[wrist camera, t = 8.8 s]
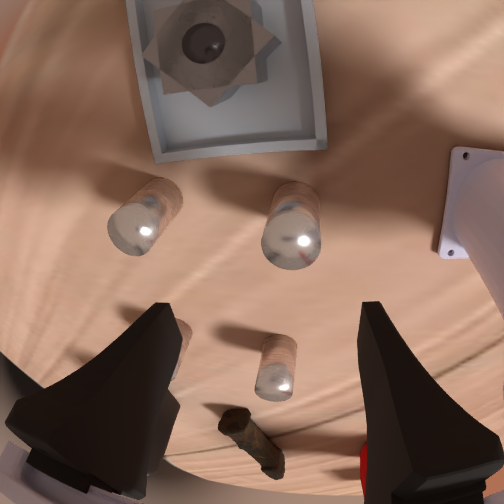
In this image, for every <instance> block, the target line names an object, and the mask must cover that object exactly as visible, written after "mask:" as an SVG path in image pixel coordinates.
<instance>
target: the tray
mask: <svg viewBox="0 0 504 504" xmlns="http://www.w3.org/2000/svg"><path fill="white" fill-rule="evenodd" d="M125 2H126V9H127V17H128V24H129V31H130V38H131V44H132V50H133V56H134V62H135V68H136V74H137V79H138V85H139V90H140V95H141V100H142V105H143V110H144V115H145V120H146V125H147V130H148V134H149V139H150V143H151V148H152V152H153V157H154V161H155V164H161V163H168V162H176V161H183V160H191V159H200V158H209V157H218V156H229V155H240V154H252V153H266V152H282V151H302V150H328V143H327V127H326V113H325V100H324V89H323V78H322V68H321V59H320V50H319V42H318V34H317V26H316V19H315V12H314V5H313V0H256V2H257V3H258V4H259V5H260V6H261V7H262V15H263V26H264V28H265V29H267V30H268V31H269V32H271V33H272V34H273V35H275V36H276V37H277V38H278V39H279V40H280V41H281V42H282V43H281V44H280V45H279V46H278V47H277V48H276V49H275V50H274V51H273V52H272V53H271V54H270V55H269V56H268V57H267V58H266V60H267V73H268V81H265V82H262V83H259V84H251V85H242V86H241V87H240V88H239V89H238V90H237V91H236V93H235V94H234V95H233V96H232V97H231V98H230V99H228V100H226V101H224V102H221V103H219V104H217V105H215V106H213V107H209V106H207V105H206V104H205V103H204V102H202V101H201V100H200V99H199V98H197V97H196V96H195V95H193V94H192V93H191V92H189V91H186V92H179V93H173V94H167V95H163V88H162V81H161V73H160V69H159V68H157V67H156V66H154V65H153V64H152V63H150V62H149V61H147V60H146V59H145V58H143V57H142V56H141V55H142V54H143V52H144V51H145V49H146V48H147V46H148V45H149V43H150V42H151V41H152V39H153V38H154V36H155V35H156V29H155V19H154V10H157V9H161V8H165V7H169V6H173V5H177V4H180V3H181V2H182V0H125Z"/></svg>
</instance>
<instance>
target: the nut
mask: <svg viewBox="0 0 504 504" xmlns="http://www.w3.org/2000/svg"><path fill="white" fill-rule="evenodd" d="M154 19H155V29H156V35H155V36H154V38H153V39H152V41H151V42H150V43H149V45H148V46H147V48H146V49H145V51H144V52H143V54H142V55H141V56H142V57H143V58H145V59H146V60H147V61H149V62H150V63H152V64H153V65H154V66H156V67H157V68H159V69H160V73H161V81H162V88H163V95H167V94H173V93H179V92H186V91H189V92H191V93H192V94H193V95H195V96H196V97H197V98H199V99H200V100H201V101H202V102H204V103H205V104H206V105H207V106H209V107H213V106H215V105H217V104H219V103H221V102H224V101H226V100H228V99H230V98H231V97H232V96H233V95H234V94H235V93H236V91H237V90H238V89H239V88H240V87H241V86H242V85H251V84H259V83H262V82H265V81H268V73H267V60H266V58H267V57H268V56H269V55H270V54H271V53H272V52H273V51H274V50H275V49H276V48H277V47H278V46H279V45H280V44H281V43H282V42H281V41H280V40H279V39H278V38H277V37H276V36H275V35H273V34H272V33H271V32H269V31H268V30H267V29H265V28H264V26H263V15H262V7H261V6H260V5H259V4H258V3H257V2H256V0H182V2H181V3H180V4H177V5H173V6H169V7H165V8H161V9H157V10H154Z"/></svg>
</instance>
